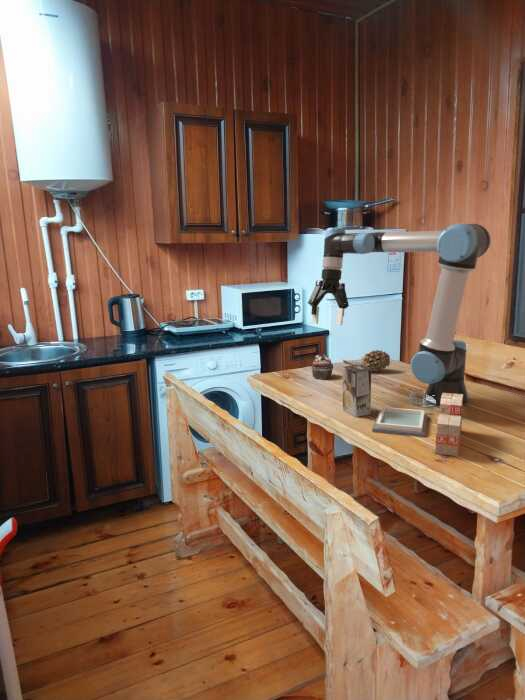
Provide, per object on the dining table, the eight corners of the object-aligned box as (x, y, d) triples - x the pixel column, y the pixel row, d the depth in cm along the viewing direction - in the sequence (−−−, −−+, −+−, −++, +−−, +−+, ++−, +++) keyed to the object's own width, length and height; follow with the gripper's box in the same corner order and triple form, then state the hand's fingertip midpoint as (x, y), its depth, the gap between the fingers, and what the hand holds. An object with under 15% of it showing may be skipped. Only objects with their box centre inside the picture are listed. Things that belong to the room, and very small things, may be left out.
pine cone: (386, 368, 244) (387, 347, 242) (393, 373, 235) (393, 352, 233) (339, 370, 243) (340, 349, 241) (344, 375, 234) (344, 354, 231)
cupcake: (308, 375, 235) (308, 353, 233) (328, 373, 238) (328, 352, 236) (315, 381, 226) (315, 358, 224) (336, 379, 229) (336, 356, 227)
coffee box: (371, 414, 183) (372, 369, 180) (356, 417, 181) (356, 372, 177) (356, 407, 192) (357, 364, 188) (341, 409, 189) (341, 366, 186)
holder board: (427, 416, 180) (427, 409, 179) (424, 436, 162) (425, 429, 162) (379, 412, 185) (379, 405, 184) (372, 431, 167) (372, 424, 167)
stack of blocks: (458, 457, 148) (460, 415, 145) (434, 454, 150) (436, 413, 147) (461, 430, 167) (463, 393, 164) (440, 428, 169) (442, 391, 167)
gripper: (346, 272, 213) (341, 324, 215) (301, 265, 197) (297, 322, 199) (360, 272, 207) (355, 325, 209) (315, 265, 191) (310, 323, 193)
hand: (327, 324), depth 204 cm, fingers open, 13 cm apart
